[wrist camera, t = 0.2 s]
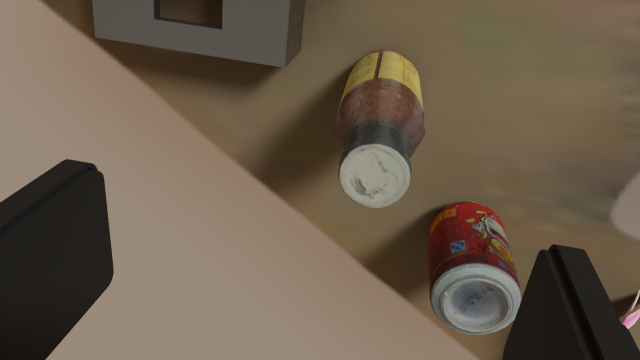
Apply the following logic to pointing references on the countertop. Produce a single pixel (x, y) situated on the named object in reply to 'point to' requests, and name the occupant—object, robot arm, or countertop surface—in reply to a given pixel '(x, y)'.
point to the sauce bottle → (379, 128)
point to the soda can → (472, 270)
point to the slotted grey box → (209, 29)
